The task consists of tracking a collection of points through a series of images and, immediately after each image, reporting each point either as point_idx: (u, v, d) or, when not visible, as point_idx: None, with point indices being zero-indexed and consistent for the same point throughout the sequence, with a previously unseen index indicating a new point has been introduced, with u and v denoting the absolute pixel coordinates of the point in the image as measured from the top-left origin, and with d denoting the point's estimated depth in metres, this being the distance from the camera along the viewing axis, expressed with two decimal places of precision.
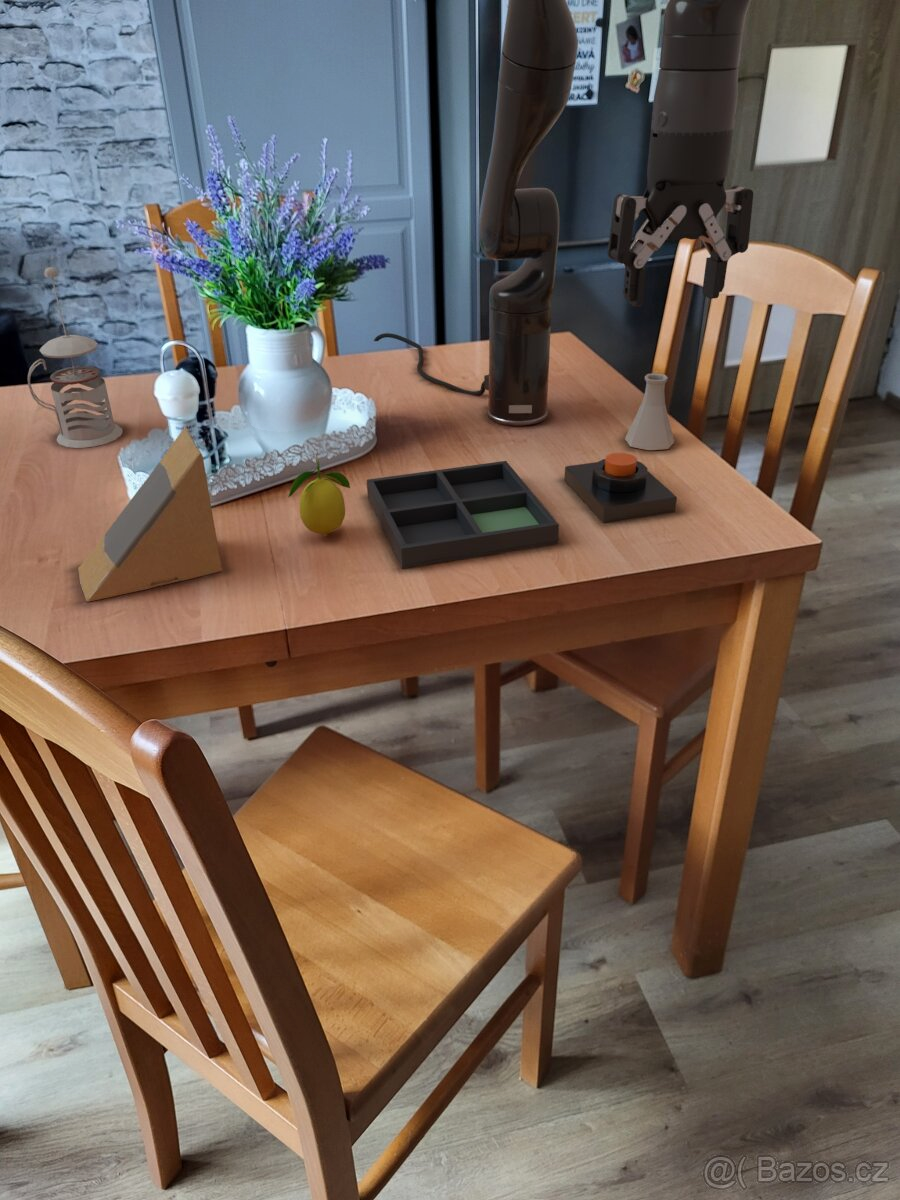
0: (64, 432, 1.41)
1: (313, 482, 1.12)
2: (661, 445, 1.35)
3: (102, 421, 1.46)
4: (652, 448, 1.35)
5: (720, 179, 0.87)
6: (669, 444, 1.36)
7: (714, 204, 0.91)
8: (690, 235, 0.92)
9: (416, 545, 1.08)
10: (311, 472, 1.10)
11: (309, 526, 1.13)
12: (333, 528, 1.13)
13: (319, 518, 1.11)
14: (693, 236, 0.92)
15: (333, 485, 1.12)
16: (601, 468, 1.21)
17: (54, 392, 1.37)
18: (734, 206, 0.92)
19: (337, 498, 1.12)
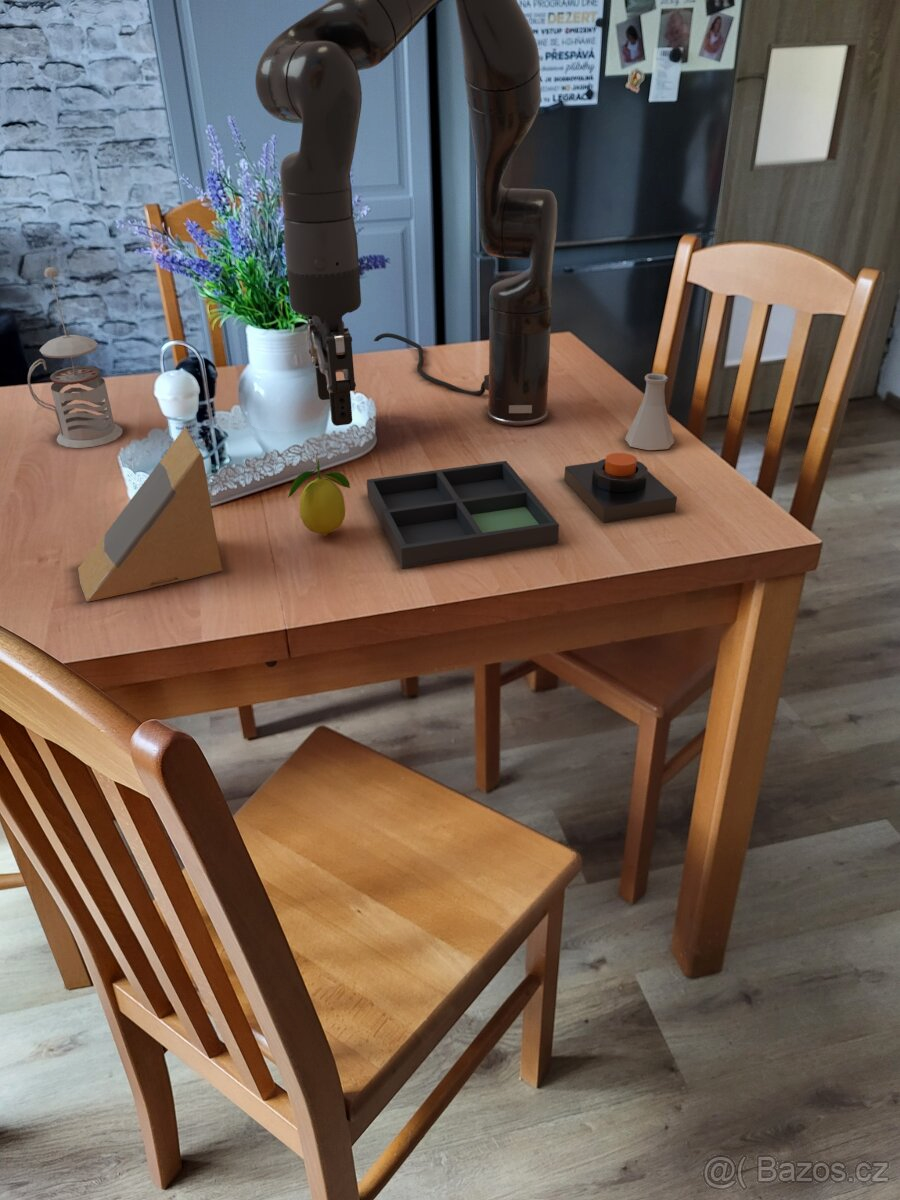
0: (64, 432, 1.41)
1: (313, 482, 1.12)
2: (661, 445, 1.35)
3: (102, 421, 1.46)
4: (652, 448, 1.35)
5: (299, 312, 0.98)
6: (669, 444, 1.36)
7: (322, 337, 0.99)
8: None
9: (416, 545, 1.08)
10: (311, 472, 1.10)
11: (309, 526, 1.13)
12: (333, 528, 1.13)
13: (319, 518, 1.11)
14: None
15: (333, 485, 1.12)
16: (601, 468, 1.21)
17: (54, 392, 1.37)
18: None
19: (337, 498, 1.12)
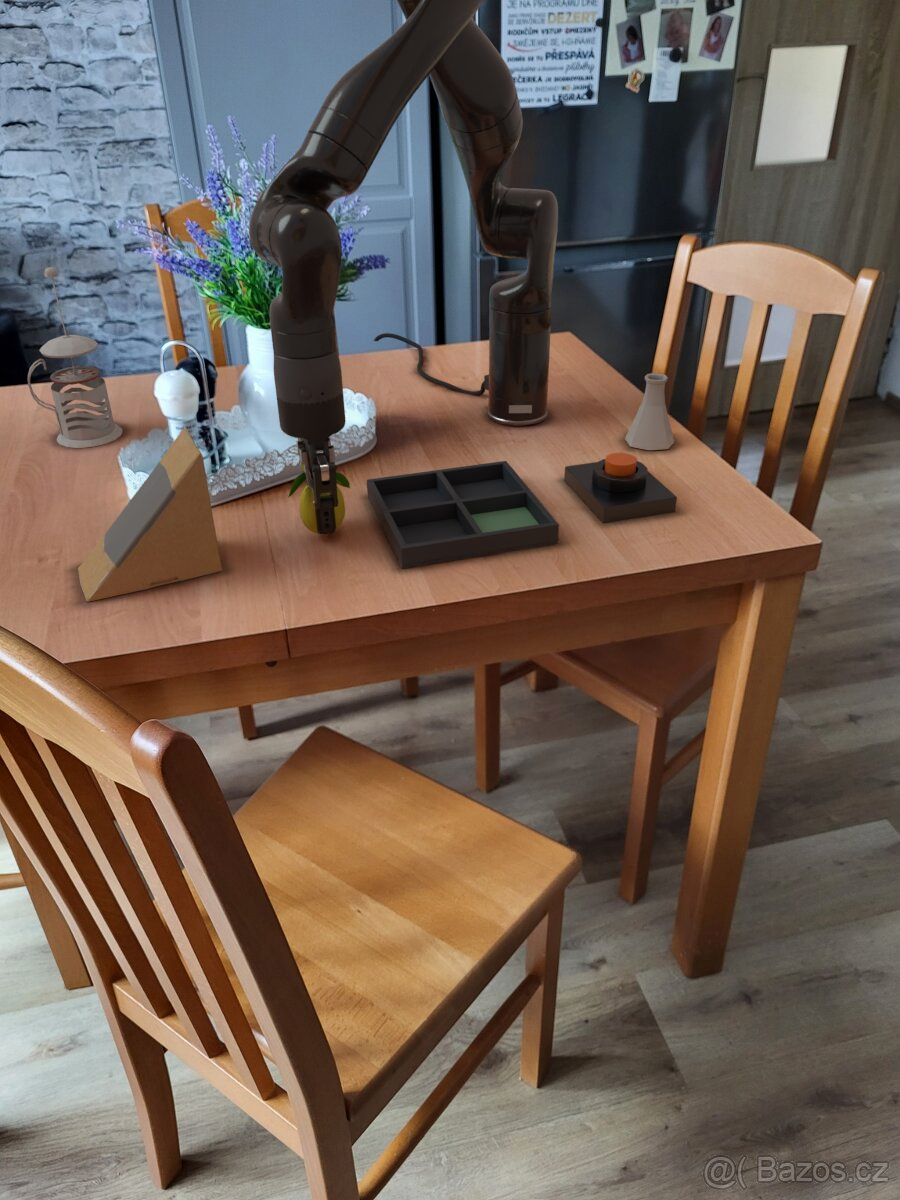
0: (64, 432, 1.41)
1: None
2: (661, 445, 1.35)
3: (102, 421, 1.46)
4: (652, 448, 1.35)
5: (287, 434, 1.06)
6: (669, 444, 1.36)
7: (309, 456, 1.07)
8: None
9: (416, 545, 1.08)
10: None
11: (309, 526, 1.13)
12: None
13: None
14: None
15: None
16: (601, 468, 1.21)
17: (54, 392, 1.37)
18: None
19: (337, 498, 1.12)
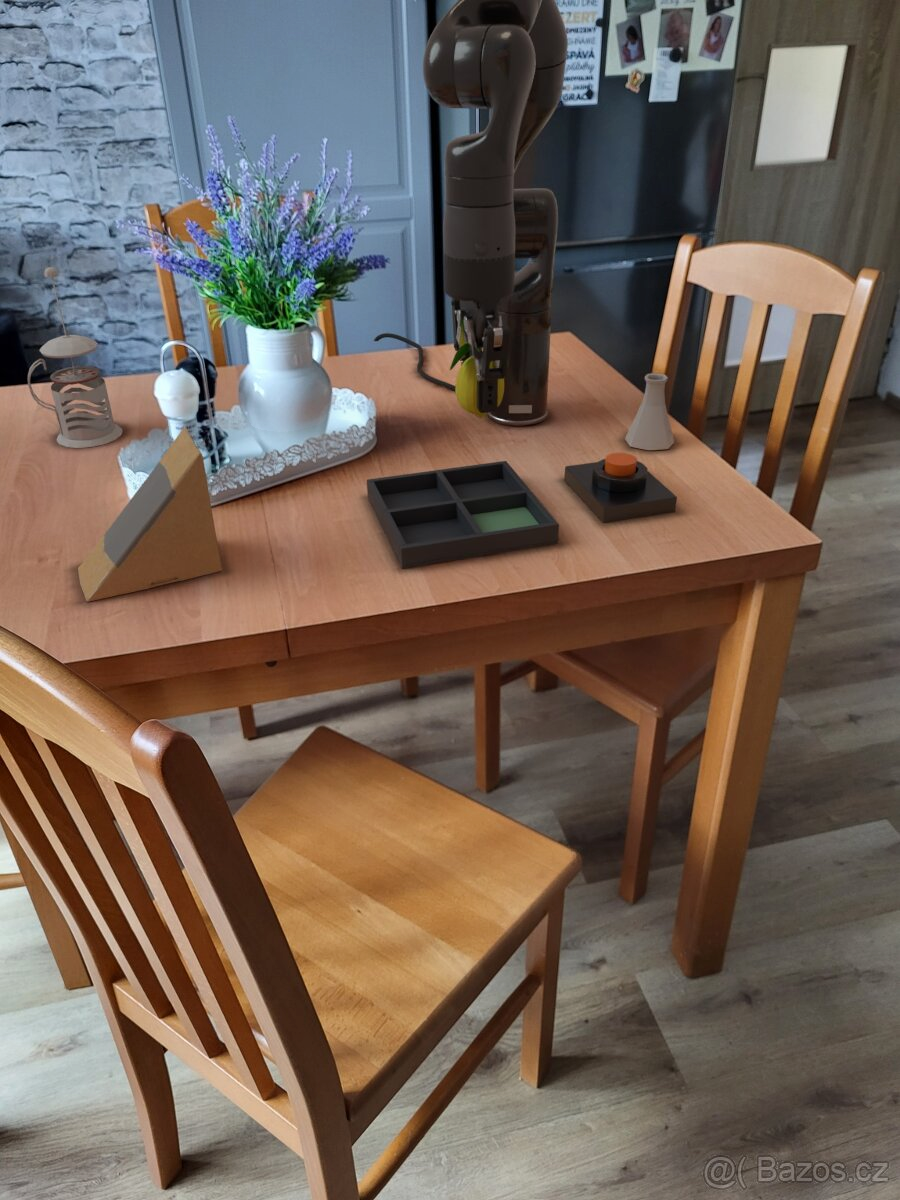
0: (64, 432, 1.41)
1: None
2: (661, 445, 1.35)
3: (102, 421, 1.46)
4: (652, 448, 1.35)
5: (455, 297, 0.98)
6: (669, 444, 1.36)
7: (476, 322, 0.99)
8: None
9: (416, 545, 1.08)
10: None
11: (467, 405, 1.05)
12: None
13: None
14: None
15: None
16: (601, 468, 1.21)
17: (54, 392, 1.37)
18: None
19: None
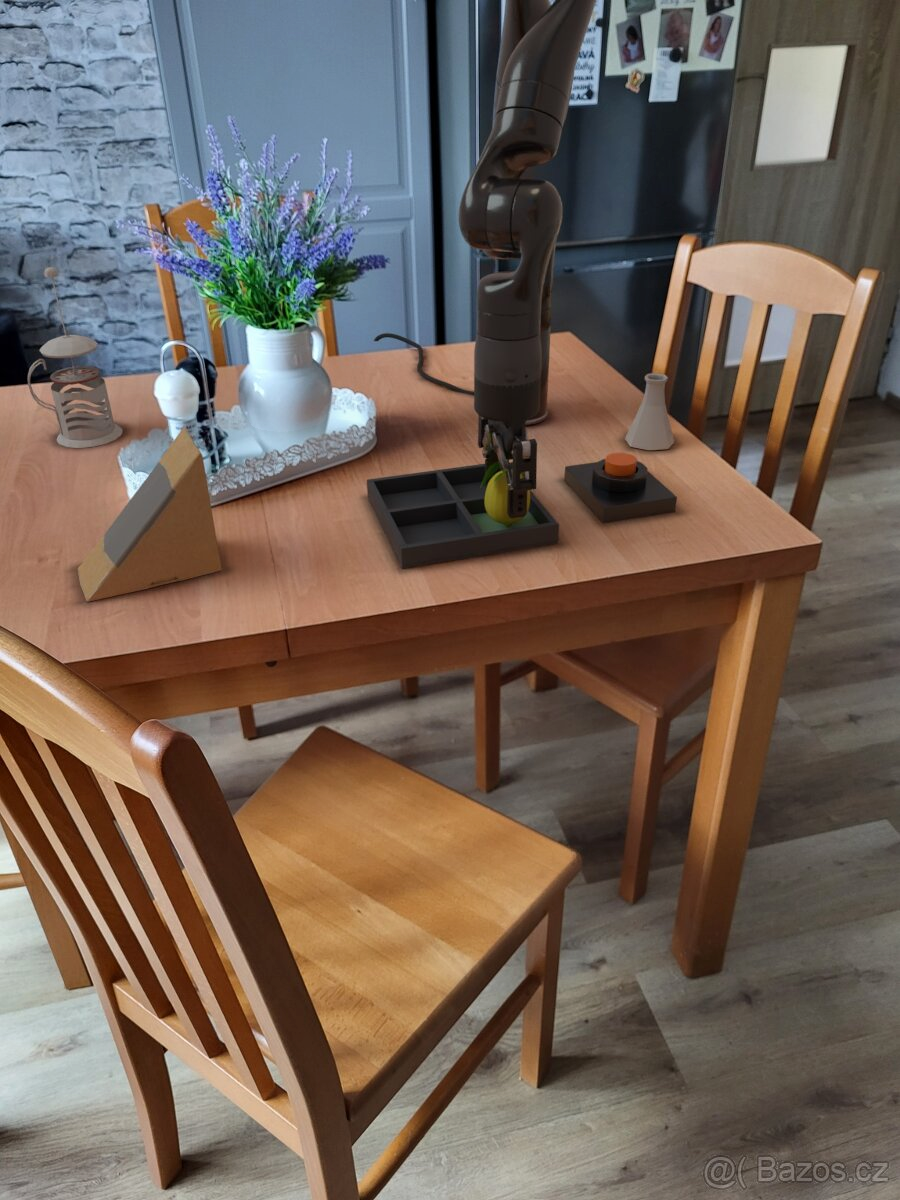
0: (64, 432, 1.41)
1: (501, 473, 1.11)
2: (661, 445, 1.35)
3: (102, 421, 1.46)
4: (652, 448, 1.35)
5: (485, 417, 1.05)
6: (669, 444, 1.36)
7: (505, 439, 1.06)
8: None
9: (416, 545, 1.08)
10: None
11: (496, 517, 1.12)
12: (519, 519, 1.13)
13: None
14: None
15: (521, 476, 1.12)
16: (601, 468, 1.21)
17: (54, 392, 1.37)
18: None
19: None
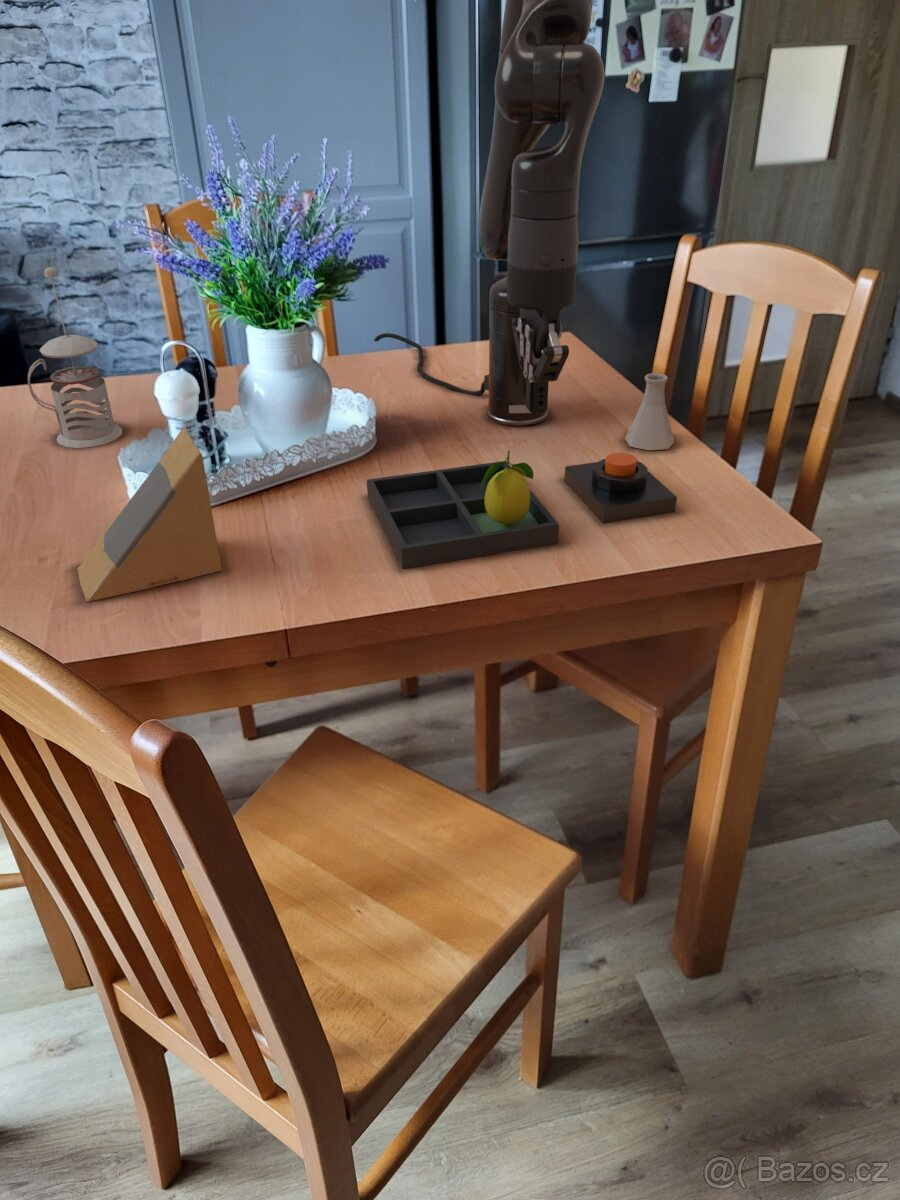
0: (64, 432, 1.41)
1: (501, 473, 1.11)
2: (661, 445, 1.35)
3: (102, 421, 1.46)
4: (652, 448, 1.35)
5: (518, 306, 1.01)
6: (669, 444, 1.36)
7: (538, 330, 1.02)
8: None
9: (416, 545, 1.08)
10: (502, 462, 1.10)
11: (496, 517, 1.12)
12: (519, 519, 1.13)
13: (508, 508, 1.11)
14: None
15: (521, 476, 1.12)
16: (601, 468, 1.21)
17: (54, 392, 1.37)
18: None
19: (525, 489, 1.11)
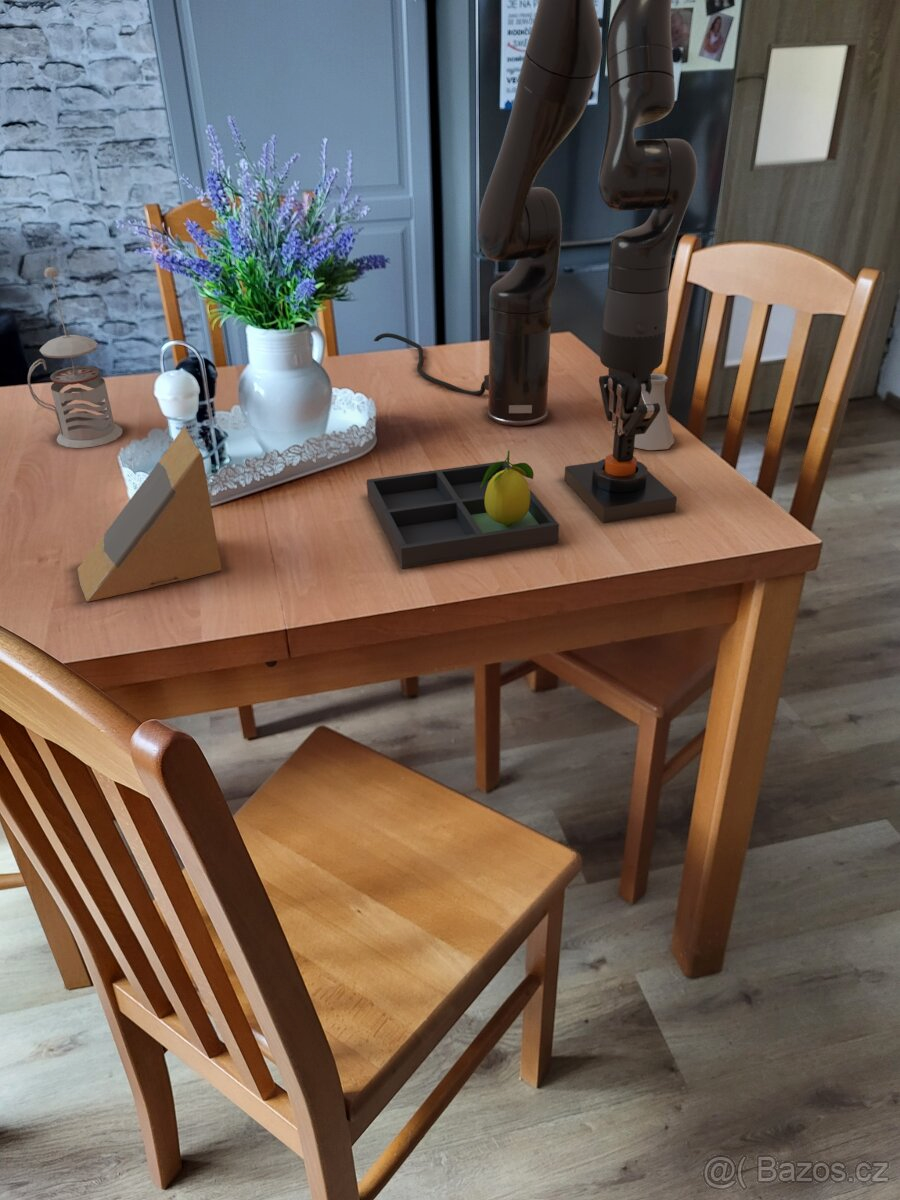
0: (64, 432, 1.41)
1: (501, 473, 1.11)
2: (661, 445, 1.35)
3: (102, 421, 1.46)
4: (652, 448, 1.35)
5: (613, 368, 1.11)
6: (669, 444, 1.36)
7: (630, 390, 1.13)
8: None
9: (416, 545, 1.08)
10: (502, 462, 1.10)
11: (496, 517, 1.12)
12: (519, 519, 1.13)
13: (508, 508, 1.11)
14: None
15: (521, 476, 1.12)
16: (601, 468, 1.21)
17: (54, 392, 1.37)
18: (637, 406, 1.12)
19: (525, 489, 1.11)
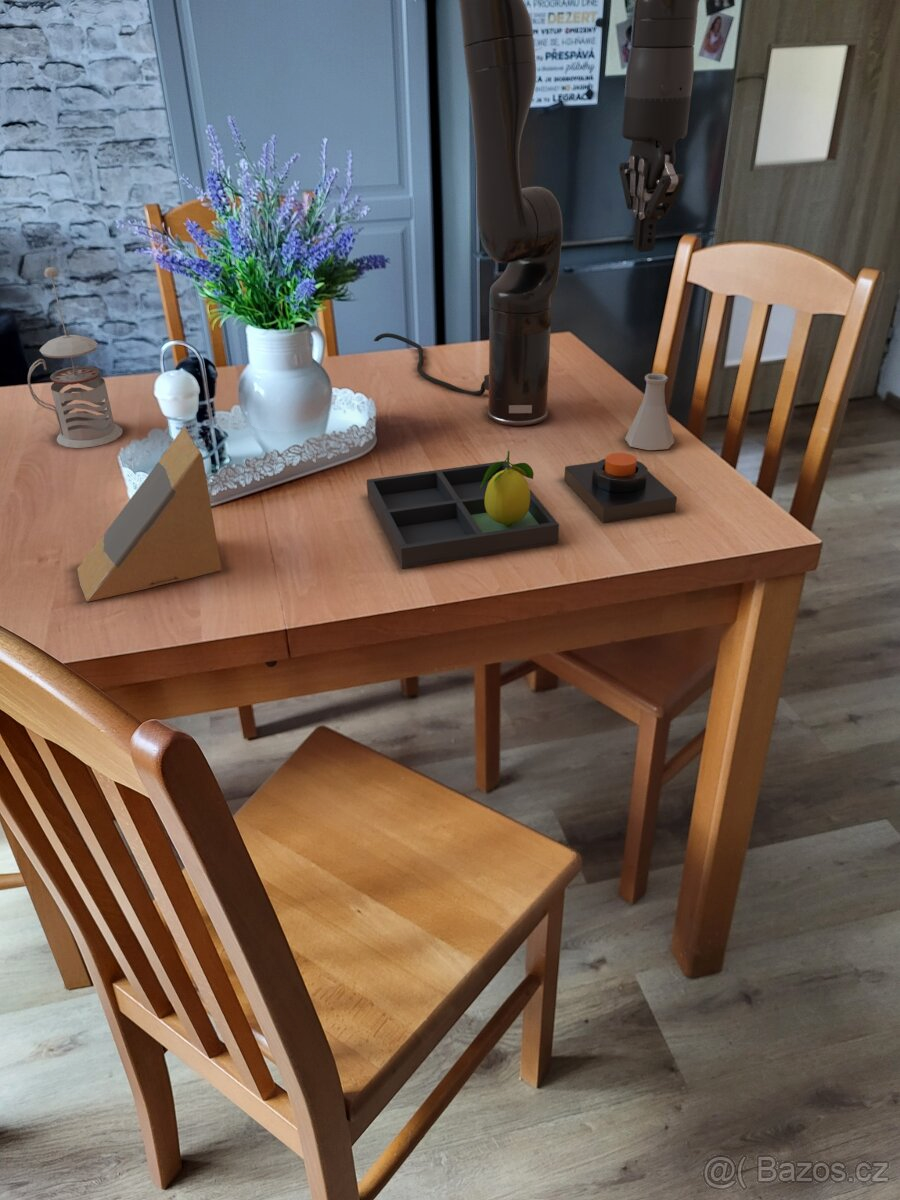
0: (64, 432, 1.41)
1: (501, 473, 1.11)
2: (661, 445, 1.35)
3: (102, 421, 1.46)
4: (652, 448, 1.35)
5: (635, 138, 1.07)
6: (669, 444, 1.36)
7: (653, 162, 1.08)
8: None
9: (416, 545, 1.08)
10: (502, 462, 1.10)
11: (496, 517, 1.12)
12: (519, 519, 1.13)
13: (508, 508, 1.11)
14: None
15: (521, 476, 1.12)
16: (601, 468, 1.21)
17: (54, 392, 1.37)
18: (660, 180, 1.08)
19: (525, 489, 1.11)
